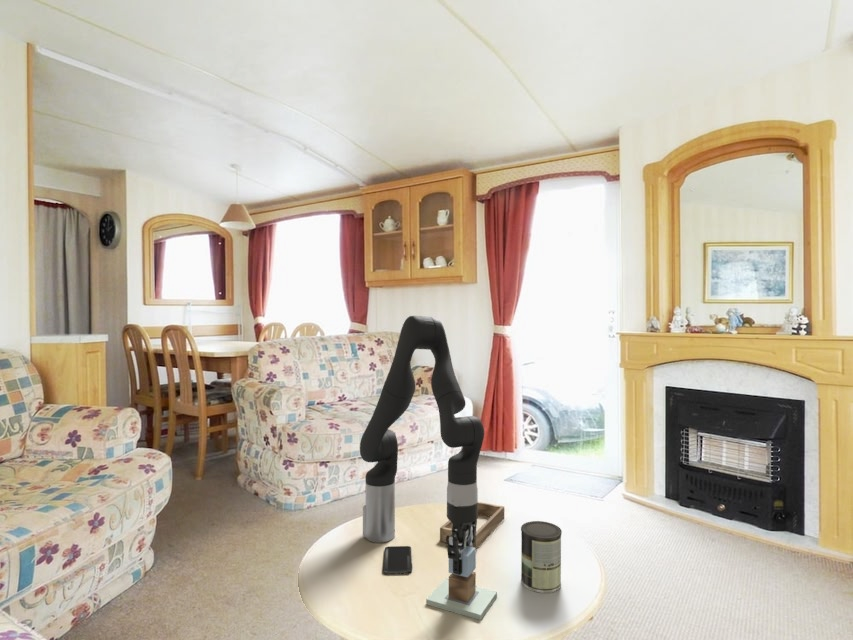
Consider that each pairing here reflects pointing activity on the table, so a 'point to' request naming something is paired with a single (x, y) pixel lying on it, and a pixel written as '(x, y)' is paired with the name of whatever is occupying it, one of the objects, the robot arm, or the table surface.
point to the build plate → (471, 609)
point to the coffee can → (541, 556)
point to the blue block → (466, 561)
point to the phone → (397, 560)
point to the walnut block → (462, 587)
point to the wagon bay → (495, 518)
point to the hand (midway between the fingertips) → (462, 568)
